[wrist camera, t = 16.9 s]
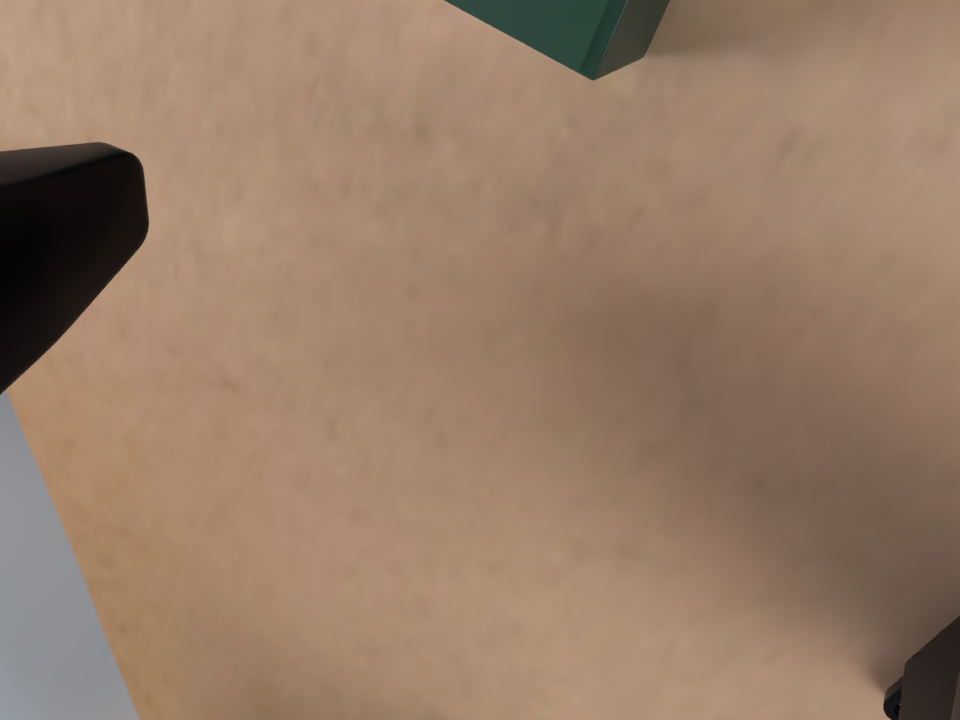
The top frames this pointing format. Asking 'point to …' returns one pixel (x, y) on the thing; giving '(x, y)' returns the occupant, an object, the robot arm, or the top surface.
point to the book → (576, 29)
